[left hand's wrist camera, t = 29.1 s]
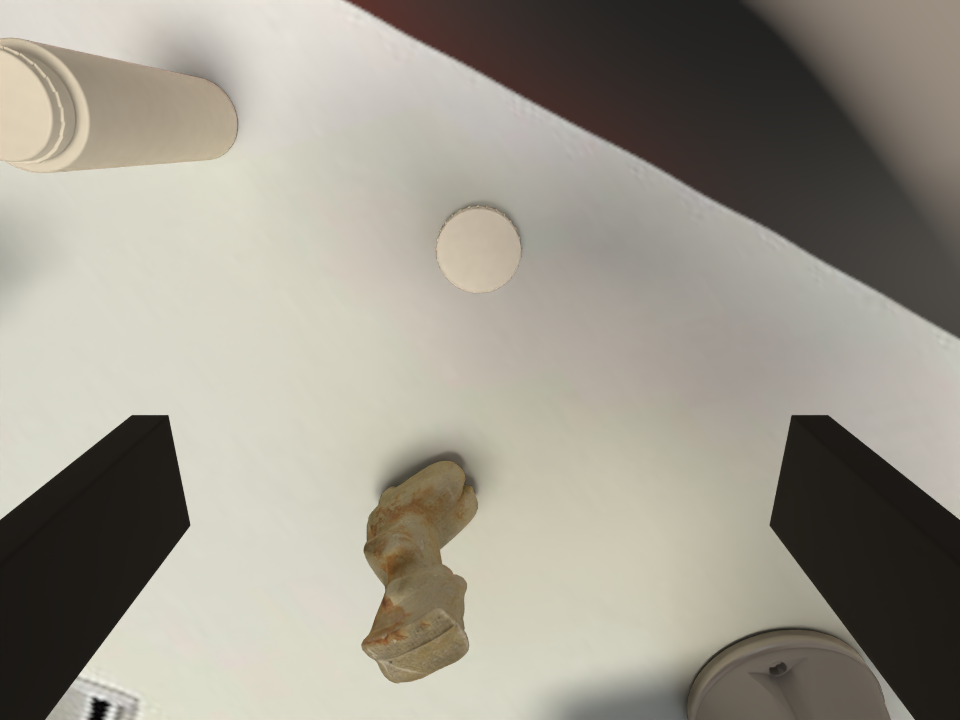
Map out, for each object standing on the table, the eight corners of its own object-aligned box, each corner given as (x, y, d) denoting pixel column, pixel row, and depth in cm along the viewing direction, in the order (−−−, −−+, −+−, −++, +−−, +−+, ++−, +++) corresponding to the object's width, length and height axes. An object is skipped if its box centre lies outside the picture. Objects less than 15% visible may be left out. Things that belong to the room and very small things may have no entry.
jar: (252, 112, 35) (87, 92, 20) (214, 176, 36) (33, 201, 21) (183, 59, 34) (-44, -1, 19) (146, 126, 35) (-92, 118, 20)
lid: (428, 277, 38) (426, 282, 37) (447, 194, 36) (446, 197, 35) (507, 297, 38) (508, 303, 37) (530, 217, 37) (532, 220, 35)
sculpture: (487, 505, 44) (491, 679, 30) (400, 539, 45) (363, 723, 31) (453, 441, 42) (440, 594, 28) (363, 478, 43) (306, 643, 29)
